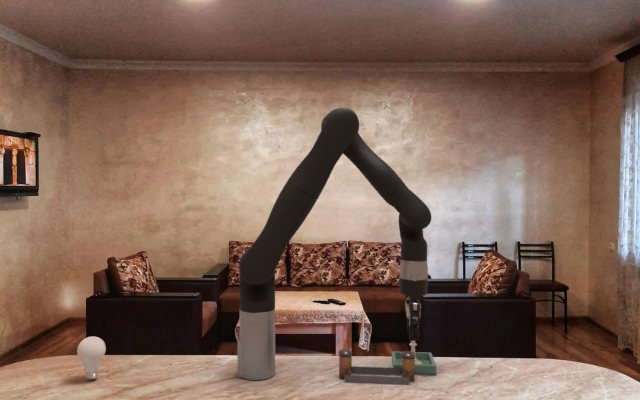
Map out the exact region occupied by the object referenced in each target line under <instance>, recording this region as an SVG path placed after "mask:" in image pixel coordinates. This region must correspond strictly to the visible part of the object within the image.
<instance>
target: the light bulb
mask: <svg viewBox="0 0 640 400" xmlns="http://www.w3.org/2000/svg"><path fill="white" fill-rule="evenodd" d="M76 349H77V351H76V352H77V357H78V359H79V360H80V362H82V364H83V368H84V371H85V375H84V376H85V378H86V380H89V381H93V380H95V379H98V377H99V371H98V370H99V369H100V363H101V361H102V359H103V357H104V355H105V353H106V351H107V350H106V349H107V347H106V343H105V341H104V340H103V339H102V338H100V337H98V336H95V335H94V336H88V337H85V338H83V340H81V341H80V342H79V344H78V346H77V348H76Z"/></svg>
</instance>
